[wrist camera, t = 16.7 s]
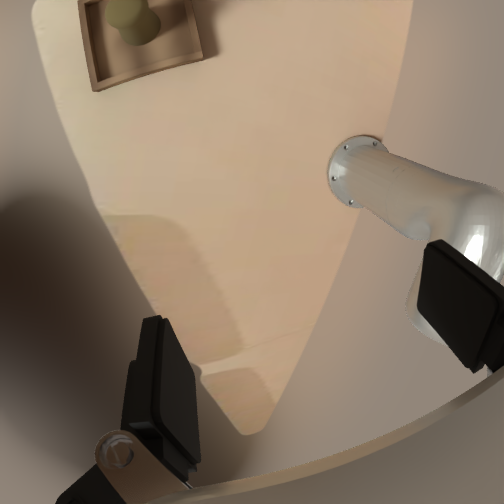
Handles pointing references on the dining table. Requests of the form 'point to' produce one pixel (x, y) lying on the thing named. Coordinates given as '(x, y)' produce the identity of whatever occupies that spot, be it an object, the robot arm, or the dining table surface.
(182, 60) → the walnut tray
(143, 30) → the pepper shaker
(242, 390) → the dining table surface
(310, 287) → the dining table surface
